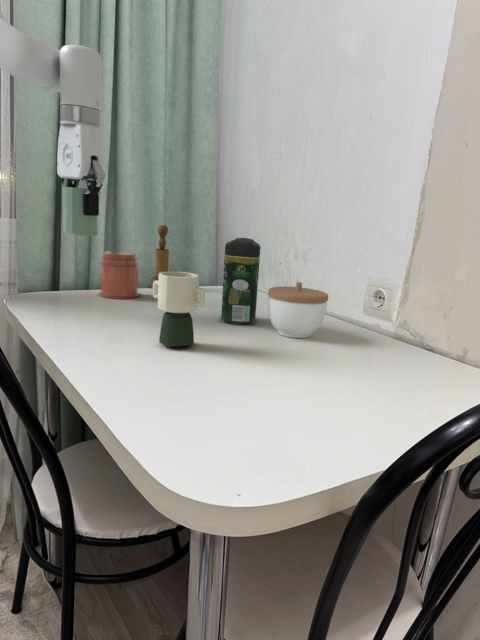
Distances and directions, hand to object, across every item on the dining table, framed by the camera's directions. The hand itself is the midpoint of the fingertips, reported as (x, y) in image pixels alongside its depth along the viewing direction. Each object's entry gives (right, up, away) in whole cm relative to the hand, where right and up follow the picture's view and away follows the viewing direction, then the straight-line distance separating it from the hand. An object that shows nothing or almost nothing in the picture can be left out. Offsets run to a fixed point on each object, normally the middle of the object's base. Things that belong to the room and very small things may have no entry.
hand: (81, 212), depth 103 cm
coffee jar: (+31, -21, +13) cm, 40 cm away
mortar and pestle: (+7, -10, +47) cm, 48 cm away
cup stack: (-1, -14, +30) cm, 33 cm away
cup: (0, -4, +1) cm, 4 cm away
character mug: (+21, -27, -11) cm, 36 cm away
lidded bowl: (+44, -25, +5) cm, 51 cm away
